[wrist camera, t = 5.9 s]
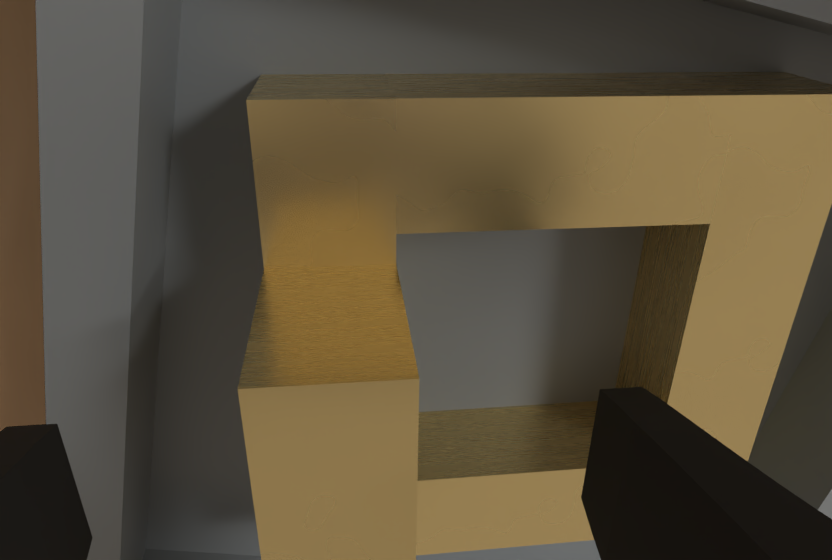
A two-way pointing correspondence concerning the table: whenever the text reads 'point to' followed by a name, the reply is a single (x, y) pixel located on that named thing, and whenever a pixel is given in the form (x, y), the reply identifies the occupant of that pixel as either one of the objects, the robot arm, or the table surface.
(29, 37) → the table surface
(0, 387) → the table surface
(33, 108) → the table surface
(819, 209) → the ring
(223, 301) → the tray
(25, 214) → the table surface
